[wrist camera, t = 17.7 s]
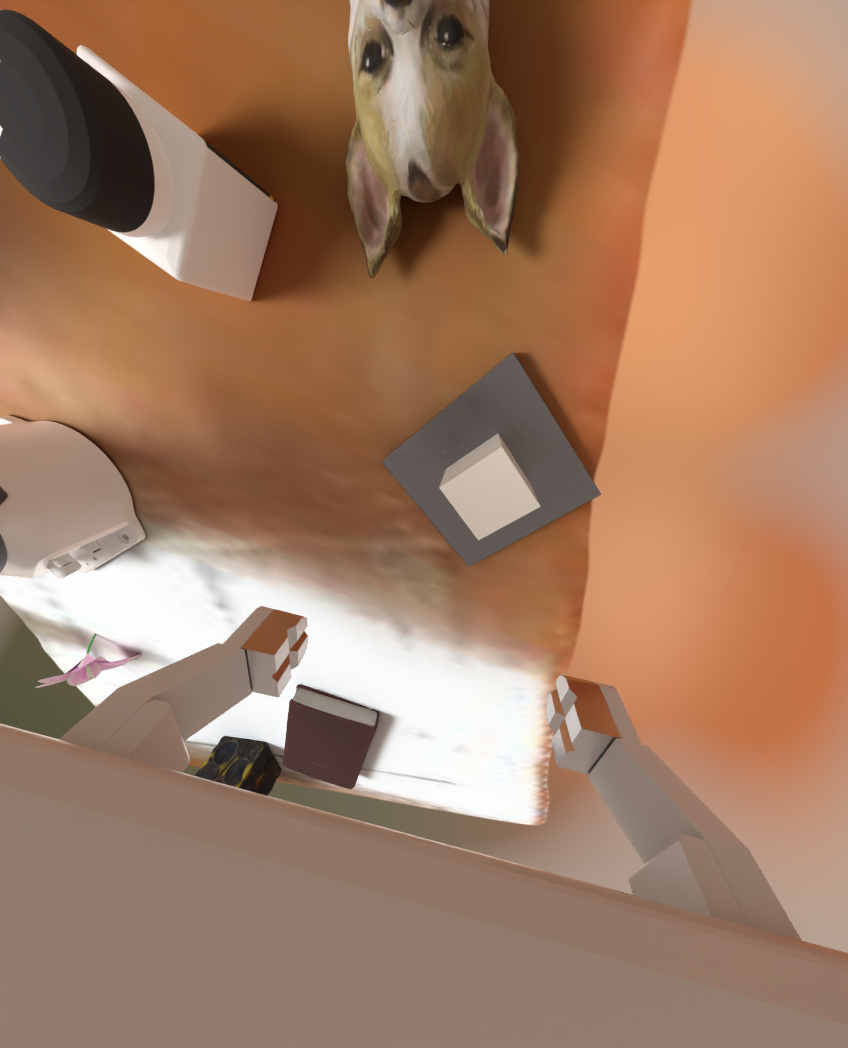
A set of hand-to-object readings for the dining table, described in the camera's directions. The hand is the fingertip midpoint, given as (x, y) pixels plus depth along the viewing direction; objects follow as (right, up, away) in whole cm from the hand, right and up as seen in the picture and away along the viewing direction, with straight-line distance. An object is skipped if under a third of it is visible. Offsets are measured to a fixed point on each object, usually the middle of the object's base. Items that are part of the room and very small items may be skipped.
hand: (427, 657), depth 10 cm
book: (-16, -32, +44) cm, 57 cm away
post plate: (+6, +9, +19) cm, 22 cm away
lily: (-54, -17, +43) cm, 71 cm away
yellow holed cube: (-35, -42, +52) cm, 75 cm away
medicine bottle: (-15, +27, +14) cm, 34 cm away
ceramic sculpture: (0, +30, +10) cm, 31 cm away
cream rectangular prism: (+6, +9, +18) cm, 20 cm away
